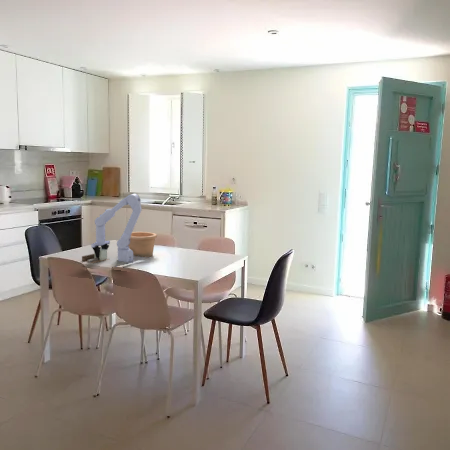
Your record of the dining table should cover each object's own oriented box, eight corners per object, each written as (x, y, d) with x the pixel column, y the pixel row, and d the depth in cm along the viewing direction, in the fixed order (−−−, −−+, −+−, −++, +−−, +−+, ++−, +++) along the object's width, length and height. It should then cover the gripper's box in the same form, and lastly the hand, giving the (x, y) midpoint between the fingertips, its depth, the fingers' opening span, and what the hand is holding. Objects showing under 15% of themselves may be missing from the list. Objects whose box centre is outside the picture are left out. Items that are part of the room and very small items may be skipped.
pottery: (133, 260, 295) (134, 238, 293) (118, 253, 312) (118, 233, 309) (162, 256, 309) (162, 235, 306) (146, 250, 325) (146, 230, 323)
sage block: (107, 258, 289) (107, 249, 288) (101, 260, 284) (101, 250, 283) (100, 257, 291) (100, 248, 291) (94, 259, 287) (94, 249, 286)
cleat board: (110, 261, 288) (110, 254, 288) (94, 265, 276) (93, 258, 276) (98, 259, 293) (98, 252, 292) (82, 263, 281) (81, 256, 280)
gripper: (104, 233, 294) (104, 254, 296) (87, 236, 281) (87, 257, 283) (112, 234, 291) (112, 255, 293) (95, 237, 278) (96, 259, 280)
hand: (100, 256), depth 288 cm, fingers closed on sage block, 5 cm apart
